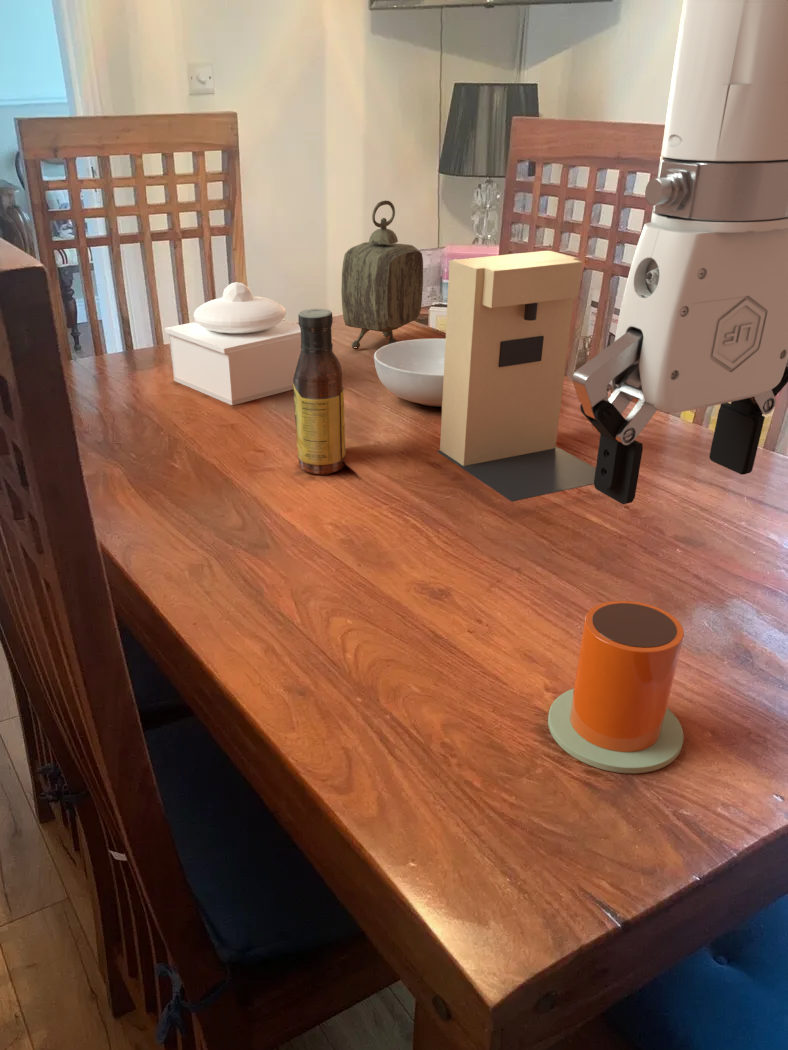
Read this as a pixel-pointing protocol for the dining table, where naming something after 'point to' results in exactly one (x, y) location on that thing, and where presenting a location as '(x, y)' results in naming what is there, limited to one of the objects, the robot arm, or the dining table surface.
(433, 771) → the dining table surface
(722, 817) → the dining table surface
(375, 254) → the tabletop clock
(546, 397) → the coffee maker
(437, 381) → the serving bowl
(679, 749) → the coaster
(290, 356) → the white lidded box
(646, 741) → the orange cup
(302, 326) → the sauce bottle
